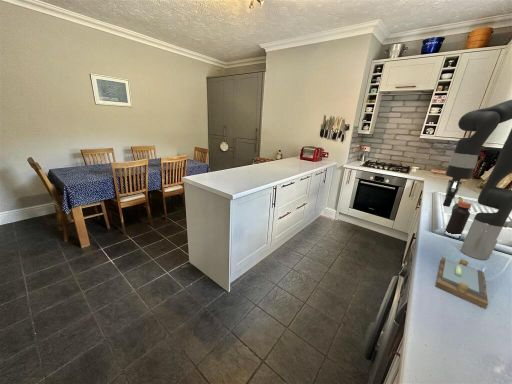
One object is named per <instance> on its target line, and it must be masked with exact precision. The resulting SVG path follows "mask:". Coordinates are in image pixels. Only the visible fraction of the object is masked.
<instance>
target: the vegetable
mask: <svg viewBox="0 0 512 384" xmlns="http://www.w3.org/2000/svg"><path fill="white" fill-rule="evenodd" d="M457 199H458V201H457V203H456V202H455V203H454V204H453V206H452V208H451V213H452V212H453V210H454V209H456V208H458V203H459V201H463V202H464V200H463V197H462V196H459V197H458V198H457Z"/></svg>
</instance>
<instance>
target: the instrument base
mask: <svg viewBox="0 0 512 384" xmlns="http://www.w3.org/2000/svg"><path fill="white" fill-rule="evenodd" d="M445 259H447V258H445V257H441V260H440V263H439V267H438V272H437V276H436V282H435V287H436V288H438V289H441V290H442V291H445V292H447V293H450V294H452V295H454V296H456V297H459V298H460V299H463V300H465V301H467V302H469V303H472V304H473V305H476V306H478V307H480V308H482V309H487V308H488V305H489V300H488V292H487V285H486V278H485V276H486V275H485V272H484V271H482V274H483V282H484V291H485V295H484V297H481V296H479V295H477V294H474V293H472V292H470V291H467V290H468V288H469V287H468V286H467V285H466V284H464V283H459V285H458V286H456V285H453V284H451V283H449V282H446V281H444V280H442V274H443V268H444V263H445ZM458 263H459V264H462V265H464V266H467V267H468V264H469V261H468V260H466V259H464V258H461V259H459V262H458ZM471 268H472V267H471ZM472 269H475V268H472ZM475 270H477V269H475Z"/></svg>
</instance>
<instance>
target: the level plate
mask: <svg viewBox="0 0 512 384" xmlns="http://www.w3.org/2000/svg"><path fill="white" fill-rule="evenodd" d="M482 272H483V271H482V270H479V269H476V270H475V268H473V269H472V267H469V266H468V265H467V266H464V265H462V264H459V262H456V261H453V260H450V259H448V258H446V259H445V263H444V268H443V274H442V280H444V281H446V282H449V283H451V284H453V285H456V286H458V285H459V283H464V284H466V285H467V286H468V287H469V288H468V290H467V291H470V292H472V293H474V294H477V295H479V296H481V297H484V295H485V291H484V282H483V274H482Z"/></svg>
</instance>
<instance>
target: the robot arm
mask: <svg viewBox="0 0 512 384" xmlns="http://www.w3.org/2000/svg"><path fill="white" fill-rule="evenodd" d="M510 120H512V99H509V100H506V101H503V102H500V103H498V104H494V105H492V106H490V107H489V106H488V107H484V108H478V109H475V110H471V111H469V112H466V113H465V114H463V115H462V116H461V117H460V118H459V120H458V124H457V125H458V127H459V129H460V130H461V131H465V132H474V133H473V134H471V136H470V137H469V136H468V137H462V138H460V139H459V140H458V141H457V143H456V145H455V146H456V147H455V148H454V152H453V154H452V156H451V158H450V160H449V163H448V166H447V169H446V171H445V176H447V177H450V178H451V180H450V179H449V180H448V181H447V186H446V187H447V188H446V190H445V192H446V194H445V198H444V200H443V204H442V206H444V207H447V208H449V207H451V204H452V202H453V200H454V199H455V197H456V195H457V194H458V191H460V189H461V187H462V185H463V183H462V180H469V179H471V178H472V175H473V172H474V171H475V167H476V165H477V163H478V159H479V155H480V152H481V150H482V147H483V145H484V144H485V142H486V141H487V140H488V139H489V137H490V136H491V135H492V134H493V132H494V131H495V130H496V129H497V127H498V125H499V124H503V123H505V122H508V121H510ZM510 129H511V130H510V131H509V132H508V136H507V138H506V140H505V141H504V144H503V145H502V148H501V150H500V152H499V155H498V157H497V159H496V162H495V165H494V166H493V169H492V171H491V173H490V175H489V177H488V179H486V182H485V184H484V186H483V187H482V189H481V191H480V193H479V195H478V197H477V203H478V204H479V205H480V206H484V207H488V208H491V209H492V208H493V209H495V210H497V211H495V212H477V213H476V214H475V215H474V218H473V220H472V223H471V224H470V228H469V229H468V232H467V234H466V236H465V238H464V240H463V243H462V245H461V247H460V249H461V250H460V251H461V253H463V254H464V253H465V255H466V256H469V257H471V258H472V259H473V258H474V259H477V260H482V261H486V260H487V259H490V257H491V256H492V254H493V251H494V250H495V247H496V246H497V243H498V238H499V236H500V234H501V232H502V231H503V227H504V225H505V223H506V222H507V220H508V219H509V218H508V217H509V215H510V214H511V212H512V189H508V188H504V187H500V186H499V187H498V185H499V183H500V182H501V181H502V180H503V179H504V178H506V177H507V176H508V175H510V174H512V128H510Z"/></svg>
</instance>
